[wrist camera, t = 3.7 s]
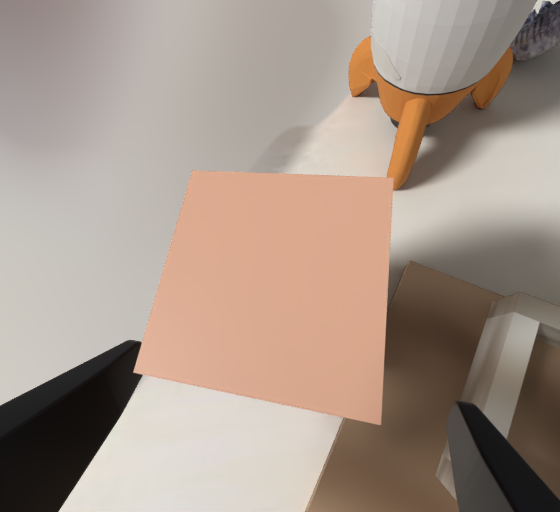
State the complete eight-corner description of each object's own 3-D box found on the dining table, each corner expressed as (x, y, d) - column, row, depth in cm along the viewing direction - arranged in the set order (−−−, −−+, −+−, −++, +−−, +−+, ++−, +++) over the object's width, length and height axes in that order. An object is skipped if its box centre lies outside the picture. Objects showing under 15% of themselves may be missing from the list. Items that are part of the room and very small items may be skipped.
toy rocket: (485, 90, 22) (838, -310, 7) (446, 220, 21) (758, 61, 7) (354, 60, 24) (431, -331, 9) (312, 181, 23) (320, -25, 8)
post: (347, 375, 17) (380, 425, 5) (271, 362, 18) (133, 372, 6) (354, 298, 18) (393, 177, 6) (283, 289, 19) (192, 170, 7)
